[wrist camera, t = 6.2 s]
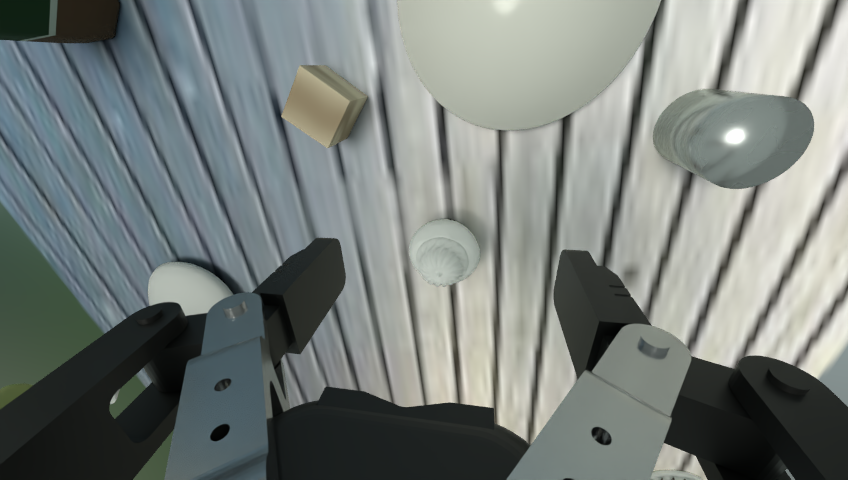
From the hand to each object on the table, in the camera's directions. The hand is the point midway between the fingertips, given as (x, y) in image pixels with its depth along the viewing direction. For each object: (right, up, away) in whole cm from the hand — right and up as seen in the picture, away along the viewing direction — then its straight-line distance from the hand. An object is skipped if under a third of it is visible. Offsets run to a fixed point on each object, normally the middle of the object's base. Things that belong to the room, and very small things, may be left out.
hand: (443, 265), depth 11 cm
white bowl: (+6, +17, +9) cm, 20 cm away
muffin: (+2, +2, +19) cm, 19 cm away
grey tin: (+19, +9, +11) cm, 23 cm away
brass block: (-8, +12, +15) cm, 21 cm away
